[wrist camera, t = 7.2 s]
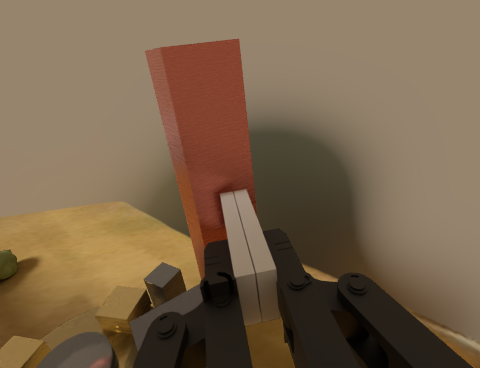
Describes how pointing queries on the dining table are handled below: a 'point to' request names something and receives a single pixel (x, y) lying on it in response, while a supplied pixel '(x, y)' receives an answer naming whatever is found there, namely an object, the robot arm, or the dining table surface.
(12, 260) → the pear
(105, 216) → the dining table surface
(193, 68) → the toy block assembly
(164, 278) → the spindle base
